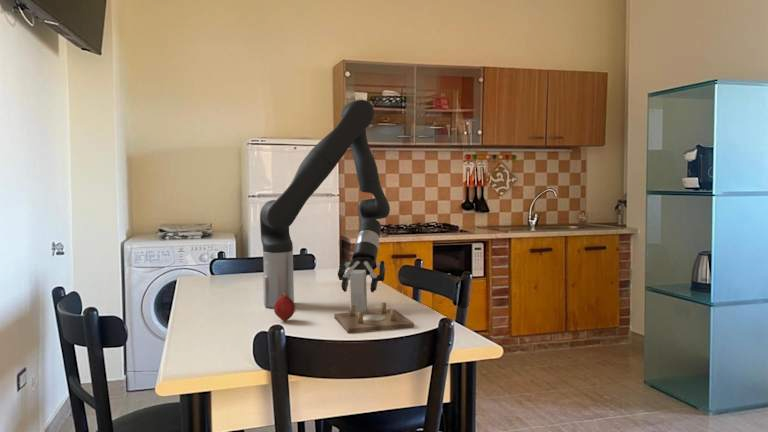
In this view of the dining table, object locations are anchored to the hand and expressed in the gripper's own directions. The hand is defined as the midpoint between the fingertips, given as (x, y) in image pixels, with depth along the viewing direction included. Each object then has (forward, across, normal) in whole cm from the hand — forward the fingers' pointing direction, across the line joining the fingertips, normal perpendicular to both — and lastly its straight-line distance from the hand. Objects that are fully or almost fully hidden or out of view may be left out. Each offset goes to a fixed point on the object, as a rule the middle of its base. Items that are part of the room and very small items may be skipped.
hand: (358, 290), depth 186 cm
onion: (+15, -18, -6) cm, 24 cm away
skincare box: (+4, 0, +5) cm, 6 cm away
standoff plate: (+14, +7, -5) cm, 17 cm away
